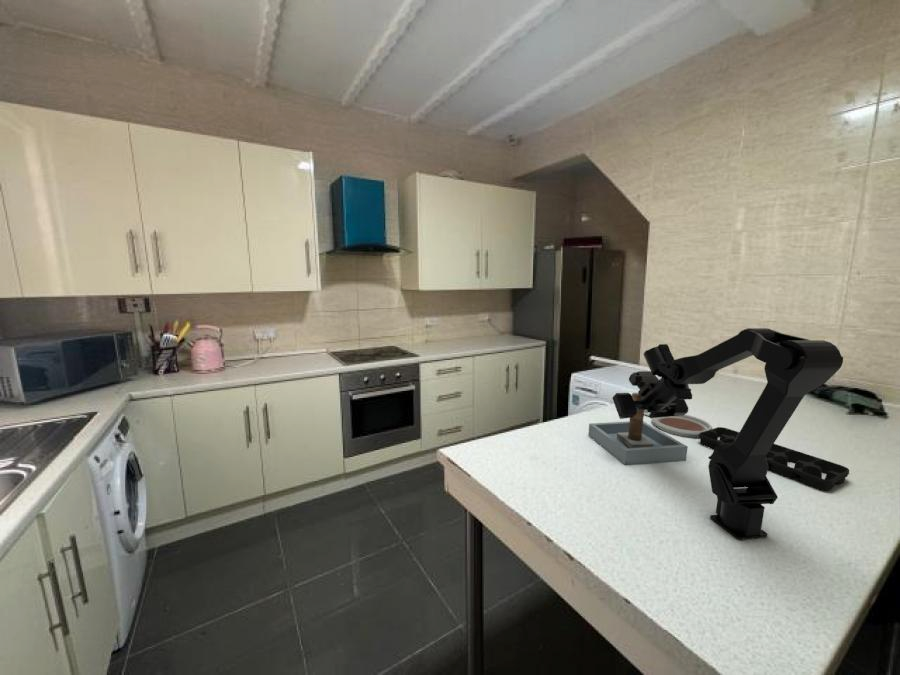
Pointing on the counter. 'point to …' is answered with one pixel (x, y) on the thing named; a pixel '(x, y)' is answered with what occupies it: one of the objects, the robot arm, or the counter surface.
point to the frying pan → (681, 425)
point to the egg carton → (779, 457)
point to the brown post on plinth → (635, 430)
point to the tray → (660, 452)
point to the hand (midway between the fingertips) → (635, 416)
